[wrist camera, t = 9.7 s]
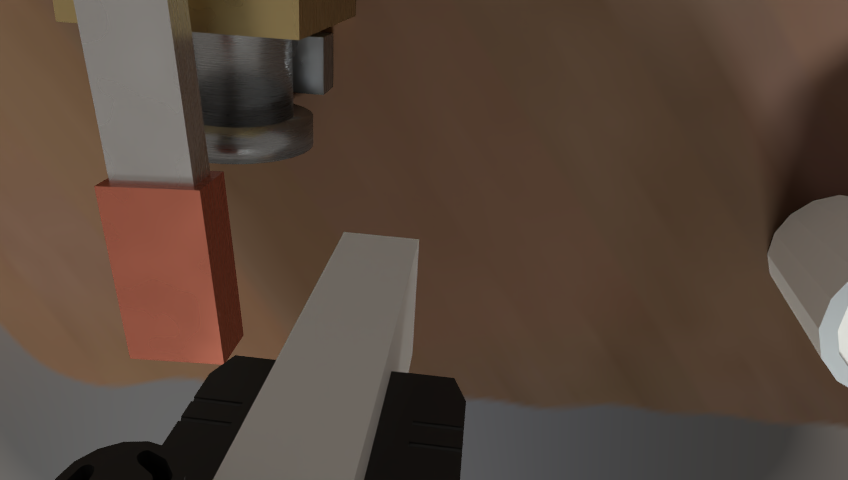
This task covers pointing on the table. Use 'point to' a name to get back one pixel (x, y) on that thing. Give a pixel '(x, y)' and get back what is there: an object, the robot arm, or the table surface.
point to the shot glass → (817, 276)
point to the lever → (160, 183)
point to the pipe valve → (257, 71)
